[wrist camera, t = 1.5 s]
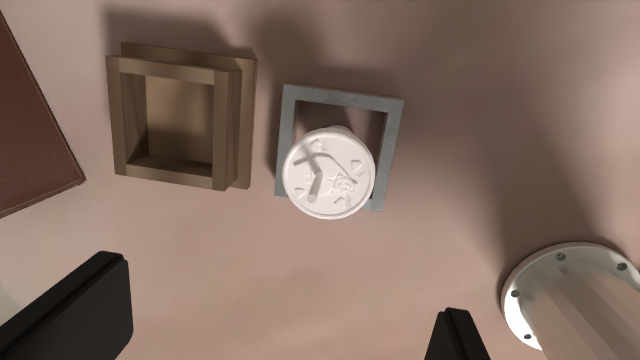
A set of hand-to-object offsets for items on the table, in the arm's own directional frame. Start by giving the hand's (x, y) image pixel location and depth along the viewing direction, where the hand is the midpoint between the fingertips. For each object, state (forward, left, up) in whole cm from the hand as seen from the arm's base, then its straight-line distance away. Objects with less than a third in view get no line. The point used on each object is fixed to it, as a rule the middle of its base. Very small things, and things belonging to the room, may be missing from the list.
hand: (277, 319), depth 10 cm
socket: (+14, 0, -24) cm, 27 cm away
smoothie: (0, 0, -24) cm, 24 cm away
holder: (0, 0, -24) cm, 24 cm away
